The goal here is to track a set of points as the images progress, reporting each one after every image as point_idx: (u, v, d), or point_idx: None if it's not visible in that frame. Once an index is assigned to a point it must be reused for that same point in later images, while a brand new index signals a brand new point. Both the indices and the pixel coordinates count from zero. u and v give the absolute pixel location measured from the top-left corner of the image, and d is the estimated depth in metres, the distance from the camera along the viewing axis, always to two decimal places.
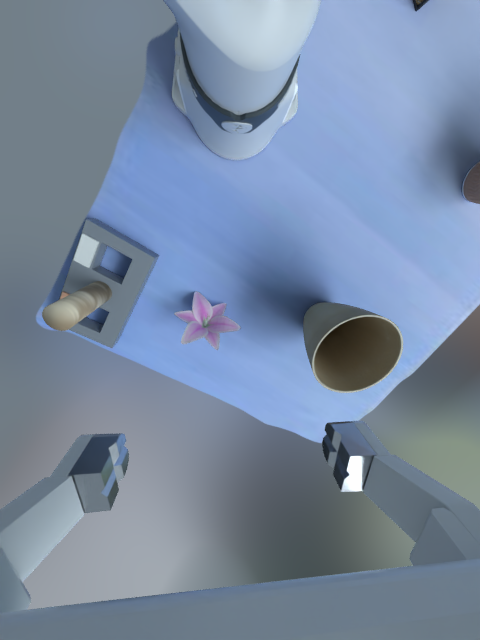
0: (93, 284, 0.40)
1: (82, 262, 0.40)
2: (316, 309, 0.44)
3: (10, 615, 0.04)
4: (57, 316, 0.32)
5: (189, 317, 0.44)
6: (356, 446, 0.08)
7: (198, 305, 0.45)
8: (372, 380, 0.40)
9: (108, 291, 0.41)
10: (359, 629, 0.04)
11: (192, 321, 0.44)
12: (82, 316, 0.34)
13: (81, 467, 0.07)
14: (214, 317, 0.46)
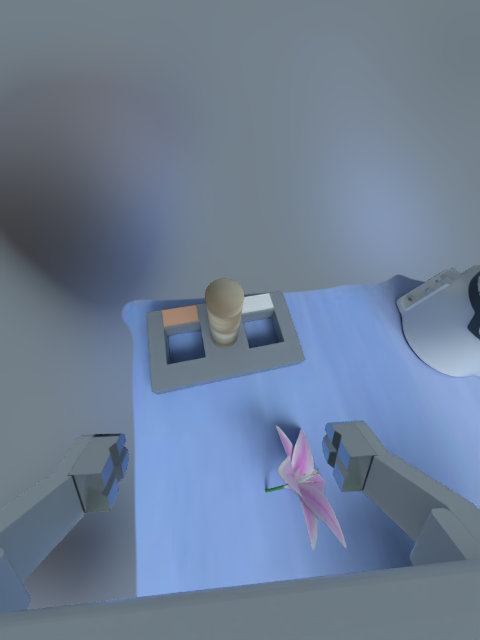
0: None
1: None
2: None
3: (10, 615, 0.04)
4: (226, 293, 0.23)
5: (288, 450, 0.27)
6: (356, 446, 0.08)
7: (301, 446, 0.29)
8: None
9: (235, 340, 0.33)
10: (359, 629, 0.04)
11: None
12: (230, 320, 0.25)
13: (81, 466, 0.07)
14: (310, 486, 0.27)
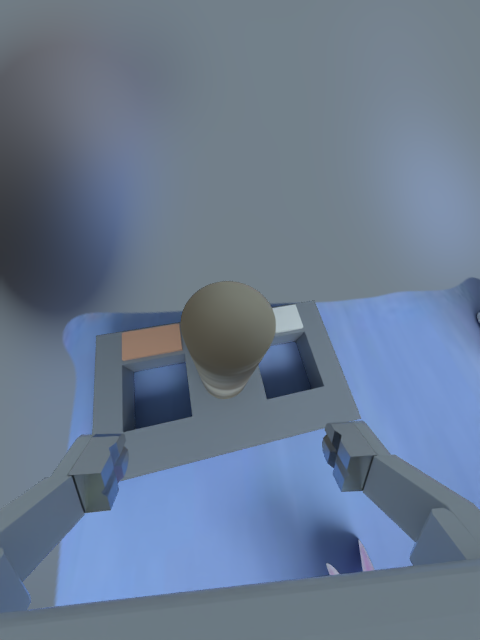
0: None
1: None
2: None
3: (10, 615, 0.04)
4: (233, 317, 0.10)
5: None
6: (356, 446, 0.08)
7: None
8: None
9: (243, 387, 0.19)
10: (359, 629, 0.04)
11: None
12: (241, 376, 0.11)
13: (81, 466, 0.07)
14: None
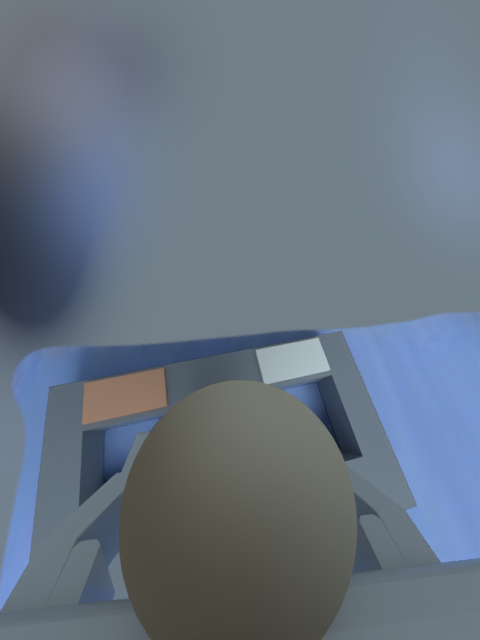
0: None
1: (265, 367, 0.17)
2: None
3: (10, 615, 0.04)
4: (252, 486, 0.04)
5: None
6: None
7: None
8: None
9: None
10: (359, 629, 0.04)
11: None
12: None
13: None
14: None
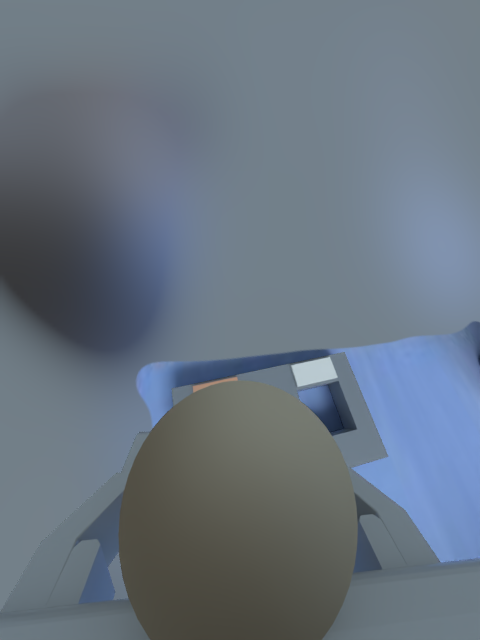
0: None
1: (298, 376, 0.27)
2: None
3: (10, 615, 0.04)
4: (252, 487, 0.04)
5: None
6: None
7: None
8: None
9: None
10: (359, 629, 0.04)
11: None
12: None
13: None
14: None
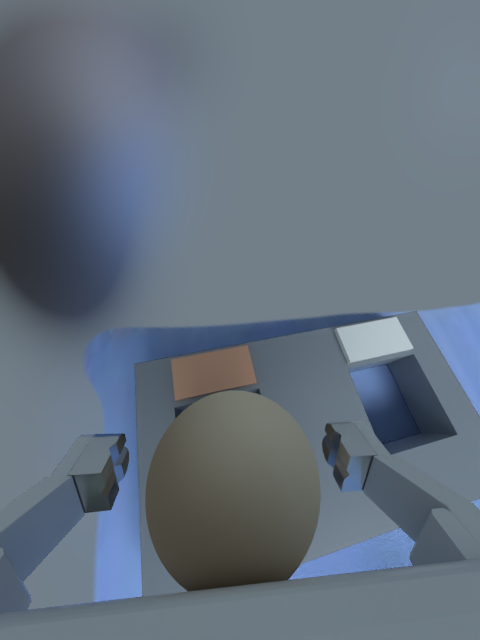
0: None
1: (349, 345, 0.16)
2: None
3: (10, 615, 0.04)
4: (243, 471, 0.05)
5: None
6: (356, 446, 0.08)
7: None
8: None
9: None
10: (359, 629, 0.04)
11: None
12: None
13: (81, 466, 0.07)
14: None
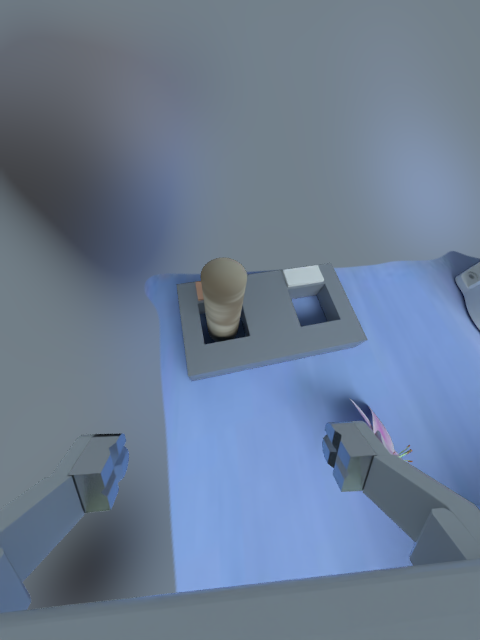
0: None
1: (288, 277, 0.31)
2: None
3: (10, 615, 0.04)
4: (226, 274, 0.20)
5: (368, 426, 0.22)
6: (356, 446, 0.08)
7: (377, 422, 0.25)
8: None
9: (235, 334, 0.29)
10: (359, 629, 0.04)
11: None
12: (230, 307, 0.21)
13: (81, 466, 0.07)
14: None
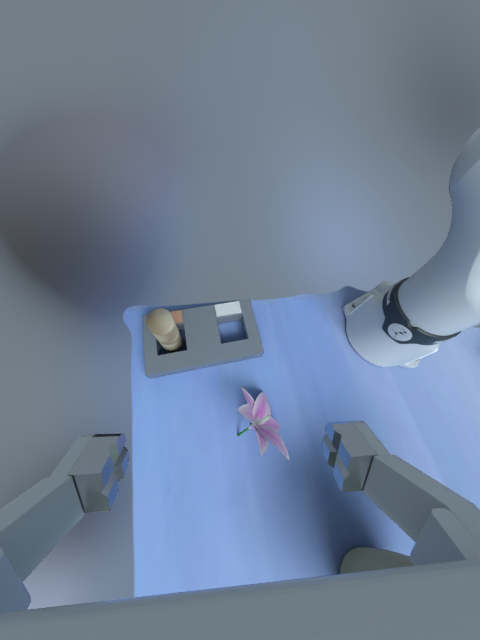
0: None
1: (217, 310, 0.46)
2: (381, 549, 0.31)
3: (10, 615, 0.04)
4: (160, 318, 0.35)
5: (250, 402, 0.38)
6: (356, 446, 0.08)
7: (261, 401, 0.40)
8: None
9: (180, 348, 0.45)
10: (359, 629, 0.04)
11: (250, 407, 0.37)
12: (165, 336, 0.37)
13: (81, 466, 0.07)
14: (267, 426, 0.38)
